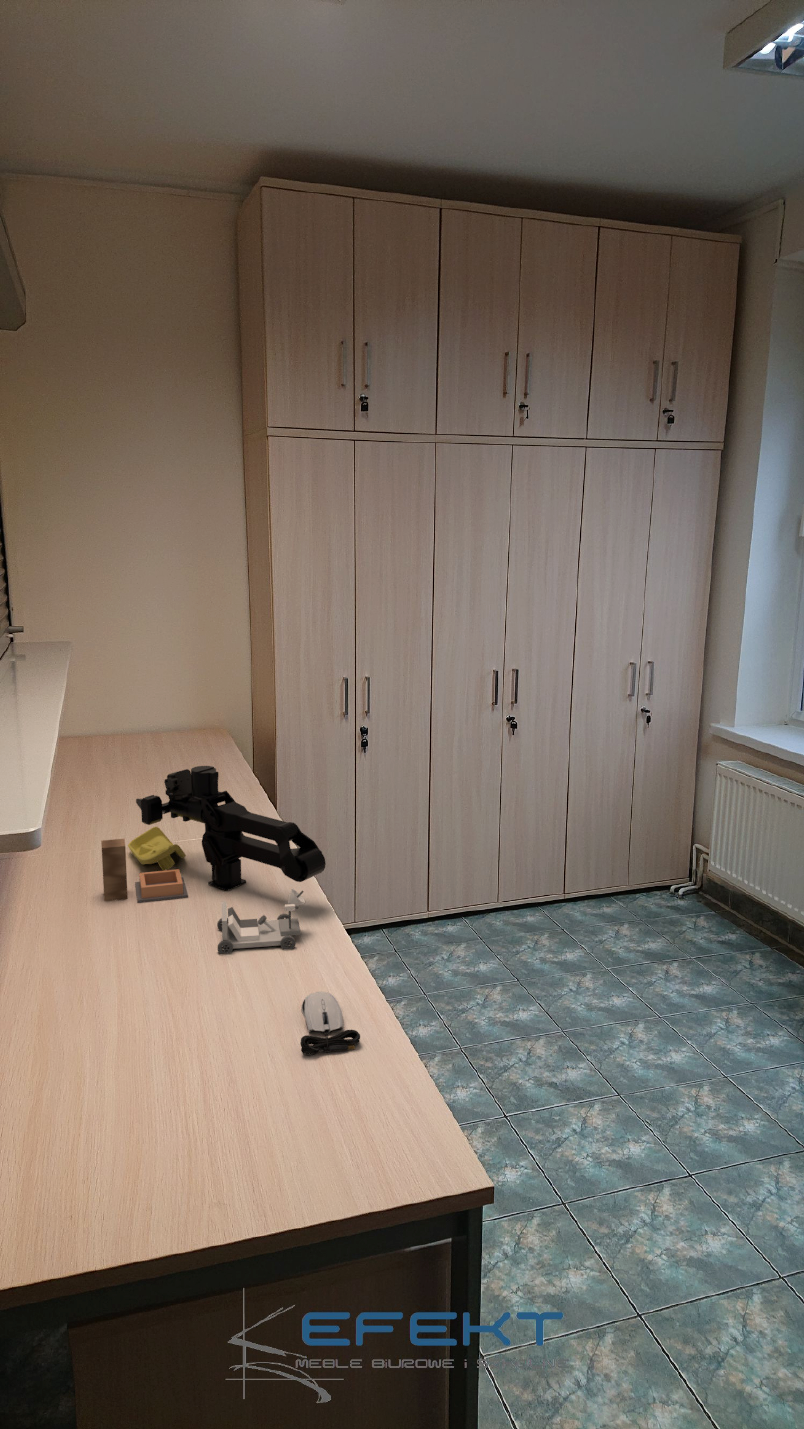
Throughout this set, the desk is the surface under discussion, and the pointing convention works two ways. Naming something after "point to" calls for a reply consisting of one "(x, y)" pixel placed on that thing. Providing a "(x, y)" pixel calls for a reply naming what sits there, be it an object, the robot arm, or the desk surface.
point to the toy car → (259, 928)
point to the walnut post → (114, 869)
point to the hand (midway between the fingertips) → (151, 796)
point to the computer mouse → (325, 1025)
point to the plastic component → (155, 848)
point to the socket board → (160, 886)
